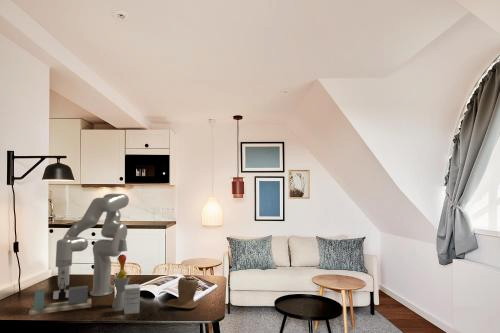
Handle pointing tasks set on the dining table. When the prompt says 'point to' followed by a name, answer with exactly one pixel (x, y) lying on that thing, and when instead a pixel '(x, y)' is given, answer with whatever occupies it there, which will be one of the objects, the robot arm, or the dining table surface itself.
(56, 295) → the tube
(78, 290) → the sleeve
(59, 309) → the base board
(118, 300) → the lava lamp
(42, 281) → the dining table surface
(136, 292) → the supplement box
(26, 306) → the dining table surface
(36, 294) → the socket block
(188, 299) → the brown boot
